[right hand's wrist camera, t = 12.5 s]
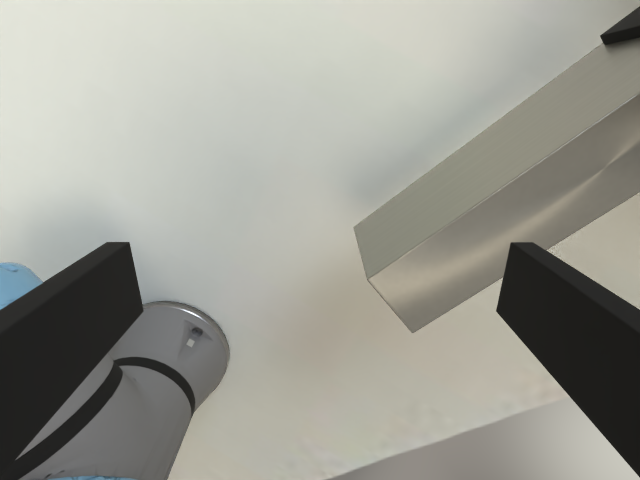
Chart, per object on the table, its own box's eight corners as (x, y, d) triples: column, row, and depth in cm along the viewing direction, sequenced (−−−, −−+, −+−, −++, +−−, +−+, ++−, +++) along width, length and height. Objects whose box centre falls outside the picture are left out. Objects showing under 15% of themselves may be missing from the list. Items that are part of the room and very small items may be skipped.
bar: (386, 267, 30) (412, 334, 21) (353, 227, 28) (366, 279, 20) (701, 51, 24) (916, 20, 15) (677, -13, 23) (898, -87, 14)
